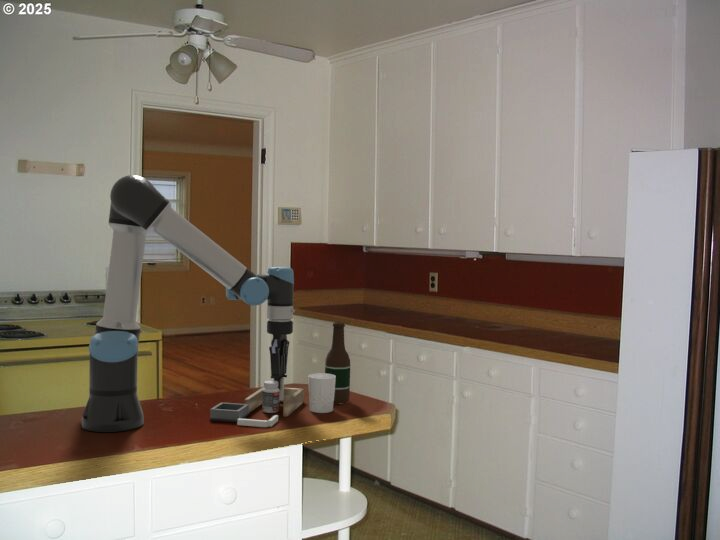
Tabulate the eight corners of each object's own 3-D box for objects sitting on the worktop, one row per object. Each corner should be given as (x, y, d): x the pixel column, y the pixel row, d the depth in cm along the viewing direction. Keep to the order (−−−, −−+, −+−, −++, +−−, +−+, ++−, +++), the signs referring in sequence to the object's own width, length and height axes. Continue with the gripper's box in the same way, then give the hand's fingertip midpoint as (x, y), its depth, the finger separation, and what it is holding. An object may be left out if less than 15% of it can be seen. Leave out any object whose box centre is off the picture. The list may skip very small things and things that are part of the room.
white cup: (340, 409, 210) (341, 375, 209) (324, 415, 203) (325, 379, 203) (318, 405, 214) (318, 372, 214) (301, 410, 208) (302, 376, 207)
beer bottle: (321, 403, 217) (323, 323, 216) (326, 397, 225) (328, 320, 223) (346, 405, 216) (349, 324, 214) (351, 399, 223) (353, 321, 222)
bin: (210, 420, 195) (210, 409, 194) (220, 413, 202) (221, 402, 202) (238, 422, 193) (238, 411, 193) (248, 415, 201) (248, 404, 201)
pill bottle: (276, 413, 203) (276, 384, 203) (259, 412, 204) (260, 383, 204) (281, 409, 208) (281, 380, 208) (265, 408, 209) (266, 379, 208)
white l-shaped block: (237, 425, 191) (237, 419, 191) (246, 418, 197) (246, 412, 197) (270, 427, 189) (270, 421, 189) (278, 420, 196) (278, 415, 196)
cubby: (244, 413, 203) (244, 399, 202) (263, 399, 220) (264, 386, 220) (287, 416, 201) (287, 402, 200) (303, 402, 218) (303, 388, 218)
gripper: (286, 323, 205) (284, 406, 206) (298, 318, 218) (296, 396, 219) (260, 322, 206) (259, 404, 208) (274, 316, 219) (272, 394, 220)
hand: (278, 399), depth 213 cm, fingers closed
